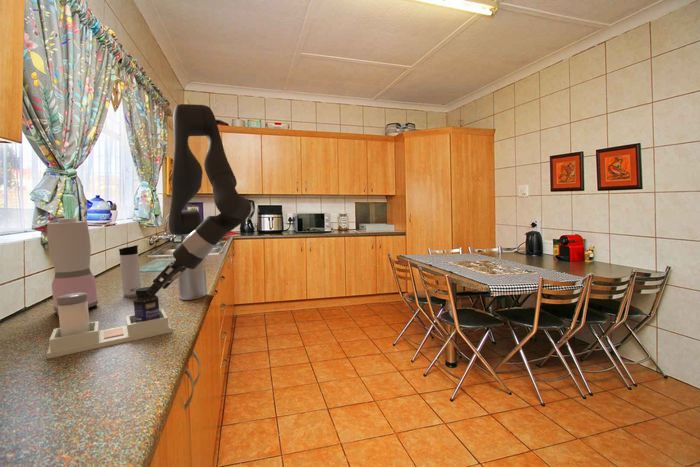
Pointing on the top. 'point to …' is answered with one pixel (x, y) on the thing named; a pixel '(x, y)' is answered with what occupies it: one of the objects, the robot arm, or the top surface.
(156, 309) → the pill bottle
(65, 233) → the blender
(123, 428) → the top surface
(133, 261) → the travel mug
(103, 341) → the cream compartment organizer
